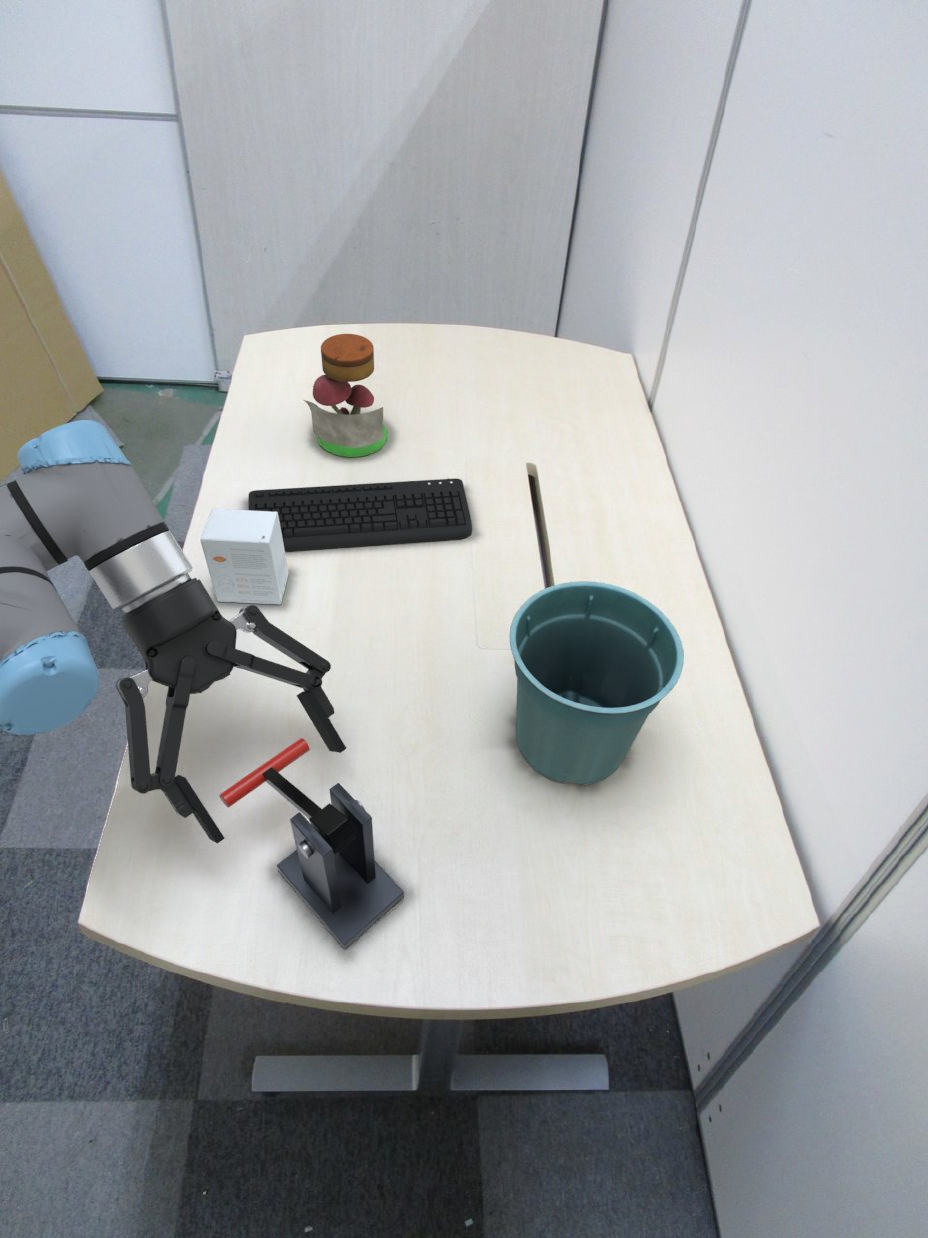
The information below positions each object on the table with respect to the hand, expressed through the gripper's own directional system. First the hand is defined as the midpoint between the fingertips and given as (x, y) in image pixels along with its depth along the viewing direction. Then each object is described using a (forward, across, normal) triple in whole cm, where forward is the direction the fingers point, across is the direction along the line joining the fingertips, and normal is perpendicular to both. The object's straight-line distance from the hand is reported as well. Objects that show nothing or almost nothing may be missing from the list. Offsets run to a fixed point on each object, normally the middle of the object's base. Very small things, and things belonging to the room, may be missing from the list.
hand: (280, 792), depth 73 cm
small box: (-16, -16, -24) cm, 33 cm away
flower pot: (+13, -28, +5) cm, 32 cm away
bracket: (+10, 0, +2) cm, 10 cm away
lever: (+1, 0, +5) cm, 5 cm away
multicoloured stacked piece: (-28, -45, -36) cm, 64 cm away
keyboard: (-17, -34, -25) cm, 46 cm away
